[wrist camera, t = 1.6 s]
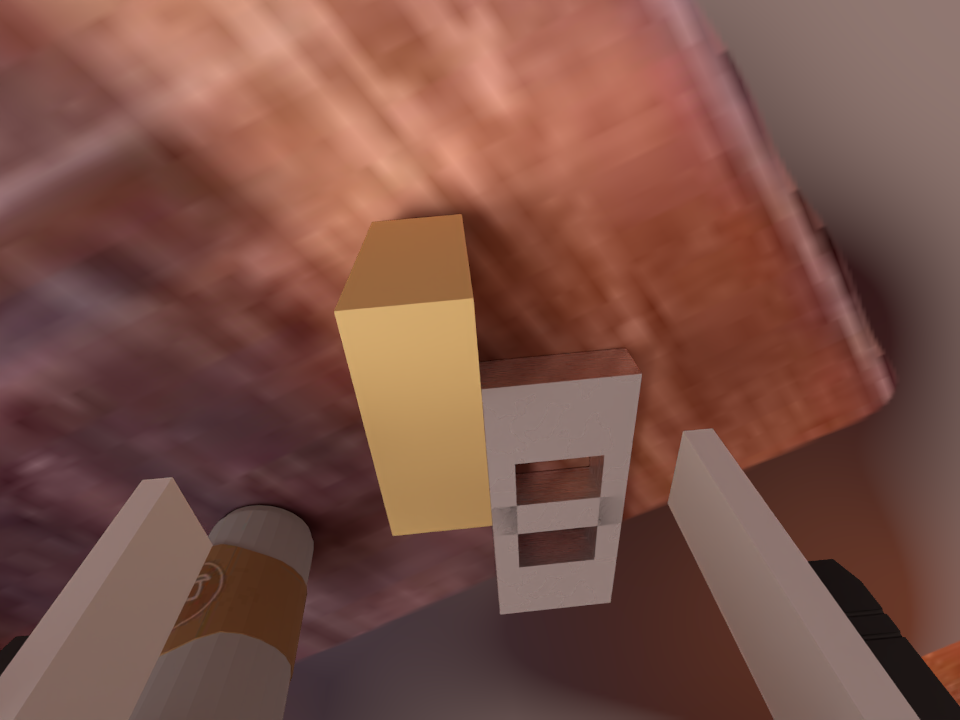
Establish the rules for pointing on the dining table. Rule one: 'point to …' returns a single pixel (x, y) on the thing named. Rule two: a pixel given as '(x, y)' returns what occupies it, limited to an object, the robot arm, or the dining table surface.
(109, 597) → the robot arm
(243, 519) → the coffee cup
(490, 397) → the grey slotted base plate
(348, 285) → the yellow block
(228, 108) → the dining table surface
